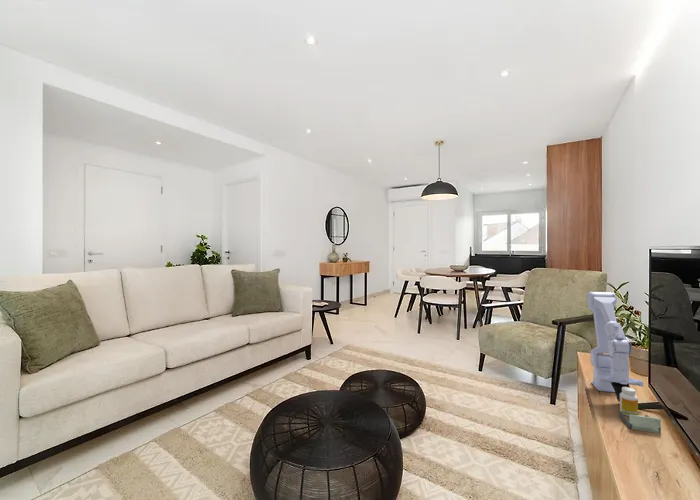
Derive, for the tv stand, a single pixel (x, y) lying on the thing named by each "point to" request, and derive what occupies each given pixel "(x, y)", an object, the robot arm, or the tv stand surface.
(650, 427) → the seating bay
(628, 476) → the tv stand surface
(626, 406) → the supplement bottle
